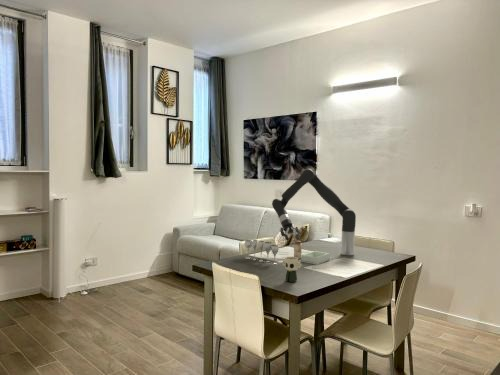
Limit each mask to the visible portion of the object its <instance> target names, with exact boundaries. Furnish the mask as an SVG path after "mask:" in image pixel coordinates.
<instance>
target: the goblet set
mask: <svg viewBox="0 0 500 375" xmlns="http://www.w3.org/2000/svg"><path fill="white" fill-rule="evenodd" d="M244 248H246V249H247V250H246V251H247V256H246V257H245V259H247V260H248V259H249V260H251V259H253V260H252V261H257V260H256V259H257V258H256V251H257V248H258V249H259V252H260V256H262V253H263V251H265V252H266V255H267V257H269V254H270V252H271V253H272V255H273V257H274V260H273V262H272V263H273V264H272V265H274V264H276V265H278V264H277V262H276V256H277V254H278V252H279V250H280V248H279V245H278V244H277V245H276V244H273V243H272V242H271V241H266V242H264V240H259V241H258V240H257V239H253V240H251V239H250V240H249V239H248V240H245V241H244ZM252 248H253V251H254V255H253V256H254V258H252V257H249V254H250V253H249V252H250V249H252ZM250 258H251V259H250ZM258 260H259V261H258V262H264V261H263V260H264V259H258ZM266 262H270V261H269V258H267V259H266Z"/></svg>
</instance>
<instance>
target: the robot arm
mask: <svg viewBox="0 0 500 375" xmlns="http://www.w3.org/2000/svg"><path fill="white" fill-rule="evenodd" d="M306 184H309V185H311V186H312V187H313V189H314V190H315V192H316V193H317V194H318V195H319V196H320V197H321V198H322V199H323V200H324V202H326V203H327V204H328V205H329V206H331V207H332V208H333V209H334V210H336V211H337V213H338V214H339V215H340V216H341V217H342V223H341V224H342V225H341V247H340V251H341V252H340V253H341V254H340V255H344V256H354V255H355V238H356V237H355V234H356V233H355V232H356V221H357V220H356V213H355V212H354V210H352V209H351V208H349V207H348V206H347V205H346V204H345V203H344V202H343V201H342V200H341V198H340V197H339V196H338V195H337V194H336V192H335V191H333V189H331V187H329V186H328V185H327V184H326V183H324V182H323V181H322V180H321V179H320V178H319V177H318V175H316V174H315V171H314V170H312V169H311V168H306V169H304V170H303V171H302V172H301V174H300V176H299V177H298V178H297V179H296V181H295V182H294V183H292V184H291V185H290V186H289V187H288V188H287V189H286V190H285V191H284V192H283V193H282V194H281V197H282V198H281V199H279V198H274V199H273V200H272V201H271V202H272V203H271V206H272V208H273V209H274V211H275V213H276V214H277V217H278V219H279V220H278V221H279V223H280V225H281V227H280V229H279V232H280V235H281V237H284V239H285V240H286V241H287V242H288V241H290V238H289V234H291V235H292V236H293V235H294V236H295V238H296V241H300V238H301V237H300V234H301V232H300V230H299V227H297V226H296V227H294V225H293V223H292V220H291V217H290V215H289V214H288V212H287V210H286V209H285V208H286V206H287V204H288V203H289V201H291V199H292V198H294V197H295V195H296V194H297V193H298V192H299V191H300V190H301V189H302V188H303V187H304V186H305V185H306Z"/></svg>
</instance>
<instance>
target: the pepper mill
mask: <svg viewBox="0 0 500 375" xmlns="http://www.w3.org/2000/svg"><path fill="white" fill-rule="evenodd" d="M302 244H303V243H302V241H301V240H294V243H293V257H297V258H298V260H301V256H302V246H303V245H302Z"/></svg>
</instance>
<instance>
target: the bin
mask: <svg viewBox="0 0 500 375" xmlns="http://www.w3.org/2000/svg"><path fill="white" fill-rule="evenodd" d="M330 256H331V253H330V252H325V251H323V252H322V251H317V250H313V251H310V252H307V253H303V254H301V259H300V260H301V261H300V263H301V262H302V263H307V264H313V265H316V266H317V265H320V264H323V263H325V262H328V261H330V259H331V258H330Z"/></svg>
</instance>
